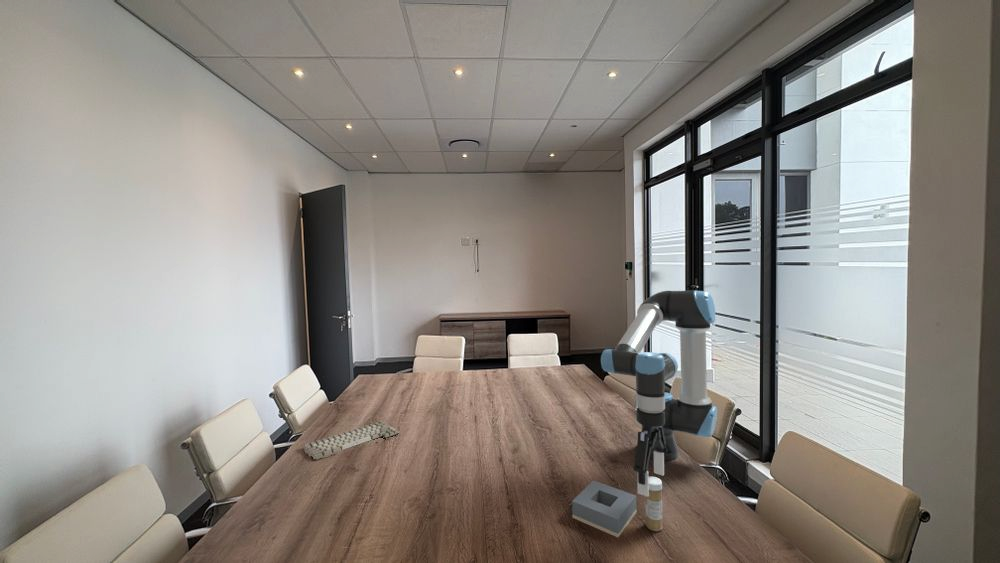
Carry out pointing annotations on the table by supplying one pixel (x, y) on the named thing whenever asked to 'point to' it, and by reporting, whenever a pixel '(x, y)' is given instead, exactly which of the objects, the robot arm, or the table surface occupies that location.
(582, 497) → the socket block
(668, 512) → the table surface
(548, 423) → the table surface
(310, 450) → the mechanical keyboard
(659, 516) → the sprinkles bottle
